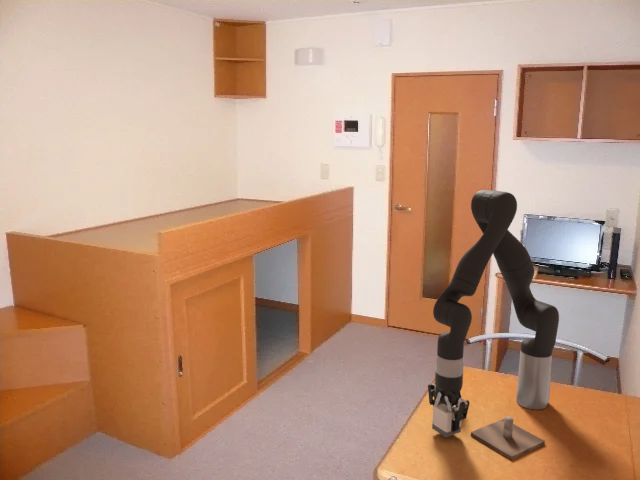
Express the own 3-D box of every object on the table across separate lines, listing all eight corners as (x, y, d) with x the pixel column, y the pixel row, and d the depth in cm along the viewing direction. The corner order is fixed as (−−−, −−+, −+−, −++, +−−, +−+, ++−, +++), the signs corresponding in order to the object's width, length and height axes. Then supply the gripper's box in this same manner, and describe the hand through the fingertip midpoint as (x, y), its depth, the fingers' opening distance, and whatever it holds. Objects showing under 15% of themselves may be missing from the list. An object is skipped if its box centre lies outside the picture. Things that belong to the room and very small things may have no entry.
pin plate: (503, 421, 165) (505, 401, 164) (544, 444, 154) (546, 422, 152) (470, 435, 158) (472, 414, 157) (511, 460, 146) (513, 437, 145)
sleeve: (446, 422, 162) (447, 400, 160) (460, 431, 157) (462, 408, 155) (432, 428, 159) (433, 405, 157) (446, 437, 154) (447, 414, 152)
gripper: (478, 376, 150) (475, 433, 154) (440, 358, 162) (437, 411, 165) (459, 383, 146) (455, 441, 150) (421, 364, 158) (419, 418, 161)
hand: (446, 425), depth 157 cm, fingers closed on sleeve, 5 cm apart
